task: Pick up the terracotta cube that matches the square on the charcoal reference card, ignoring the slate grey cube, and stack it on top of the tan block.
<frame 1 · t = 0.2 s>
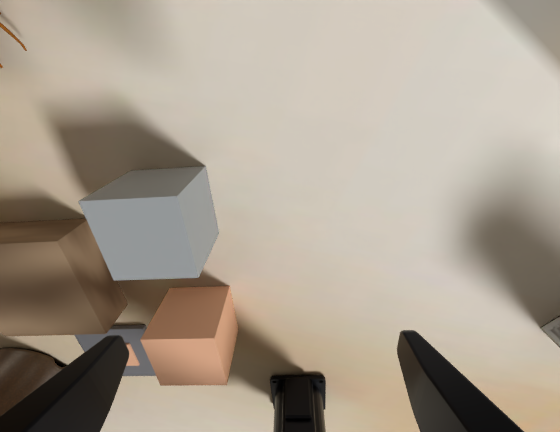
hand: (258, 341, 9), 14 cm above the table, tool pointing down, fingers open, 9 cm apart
plant pot: (38, 376, 35), on the table
slate grey cube: (177, 202, 23), on the table
tan block: (63, 264, 26), on the table
terracotta cube: (205, 308, 28), on the table
reference card: (122, 350, 31), on the table
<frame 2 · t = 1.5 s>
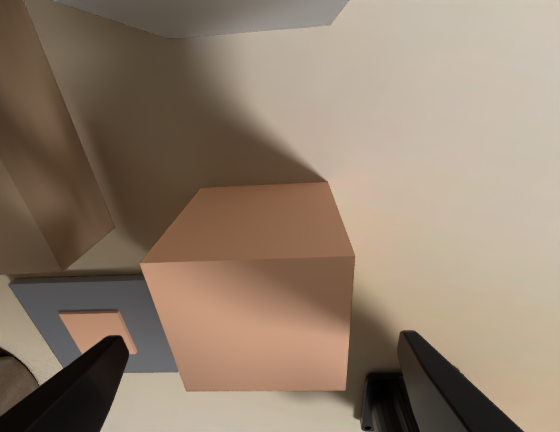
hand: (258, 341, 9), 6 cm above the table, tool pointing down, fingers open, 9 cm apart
terracotta cube: (268, 238, 14), on the table
reference card: (105, 325, 17), on the table
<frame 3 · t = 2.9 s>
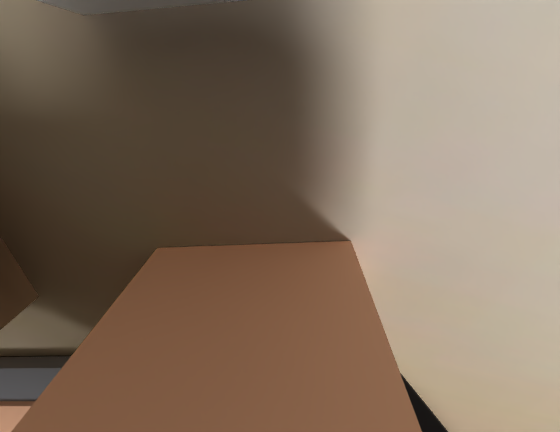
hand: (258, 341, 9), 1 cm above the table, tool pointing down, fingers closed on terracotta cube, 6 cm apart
terracotta cube: (261, 315, 10), on the table, touching gripper
reference card: (44, 412, 13), on the table
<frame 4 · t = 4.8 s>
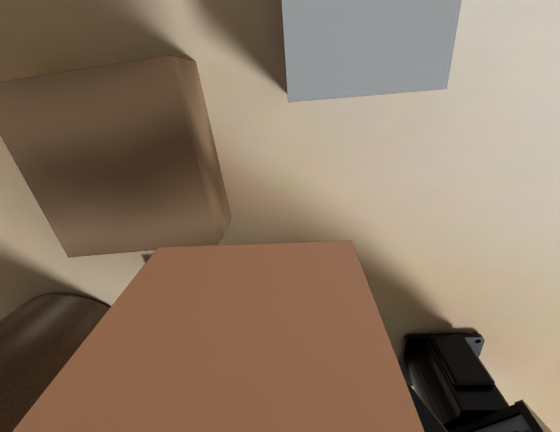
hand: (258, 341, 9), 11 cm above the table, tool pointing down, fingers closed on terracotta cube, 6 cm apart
plant pot: (87, 337, 26), on the table
slate grey cube: (342, 30, 15), on the table
tan block: (145, 156, 18), on the table
terracotta cube: (262, 315, 10), point 10 cm above the table, touching gripper
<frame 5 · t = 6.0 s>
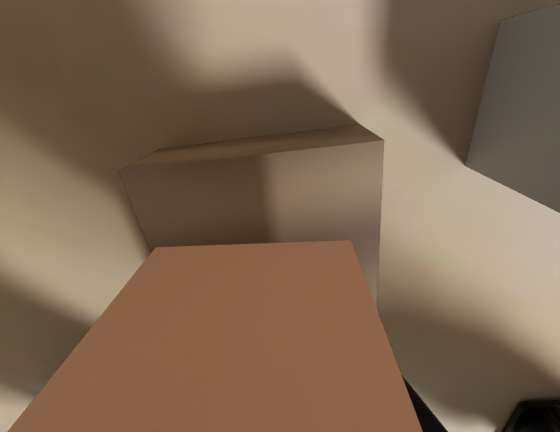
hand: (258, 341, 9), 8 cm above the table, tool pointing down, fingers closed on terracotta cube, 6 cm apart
slate grey cube: (549, 96, 12), on the table
tan block: (271, 223, 16), on the table
terracotta cube: (260, 315, 10), point 7 cm above the table, touching gripper
when the fingers open (6 cm above the table, at t = 7.0 s): terracotta cube drops 2 cm, resting on tan block.
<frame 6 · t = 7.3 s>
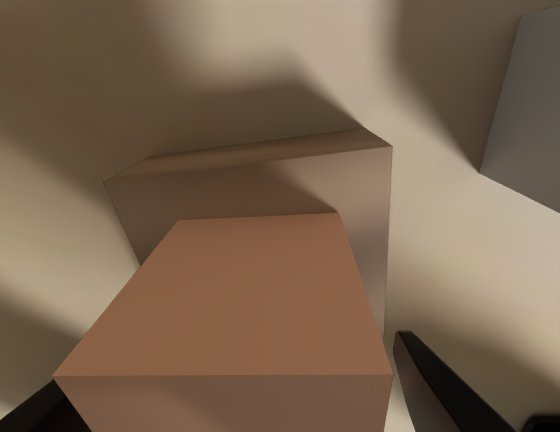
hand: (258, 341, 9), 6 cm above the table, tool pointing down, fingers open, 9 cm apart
tan block: (270, 232, 15), on the table, touching terracotta cube
terracotta cube: (265, 280, 11), point 4 cm above the table, touching tan block
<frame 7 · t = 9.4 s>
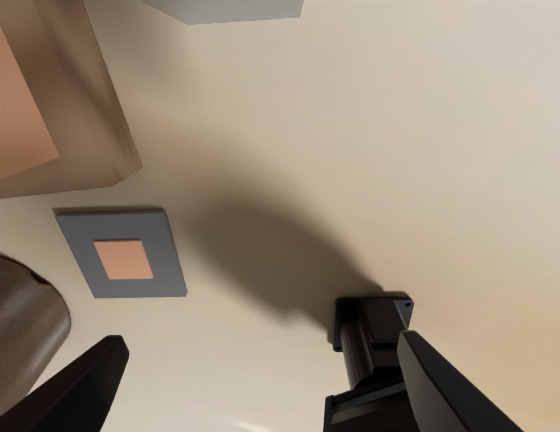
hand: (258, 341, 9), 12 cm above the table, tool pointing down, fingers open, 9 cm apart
plant pot: (9, 302, 25), on the table
tan block: (41, 96, 17), on the table
reference card: (128, 255, 22), on the table
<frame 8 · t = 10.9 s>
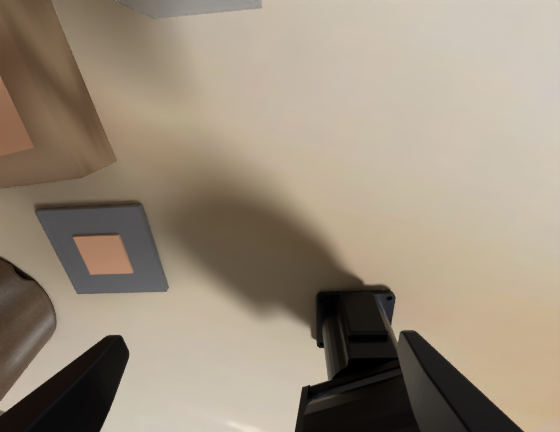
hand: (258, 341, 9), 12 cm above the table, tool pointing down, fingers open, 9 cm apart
tan block: (16, 93, 17), on the table, touching terracotta cube
reference card: (108, 250, 22), on the table
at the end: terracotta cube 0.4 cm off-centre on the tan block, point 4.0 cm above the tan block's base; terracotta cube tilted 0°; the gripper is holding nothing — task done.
